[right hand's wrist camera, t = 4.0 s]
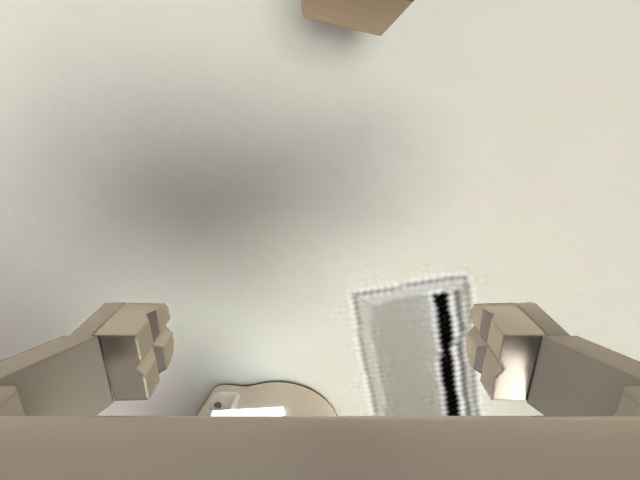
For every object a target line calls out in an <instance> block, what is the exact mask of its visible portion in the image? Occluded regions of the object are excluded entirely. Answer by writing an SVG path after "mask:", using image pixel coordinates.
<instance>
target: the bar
mask: <svg viewBox="0 0 640 480" xmlns="http://www.w3.org/2000/svg"><path fill="white" fill-rule="evenodd" d="M413 1H414V0H301V4H302V11H303V17H305V18H309V19H313V20H317V21H321V22H325V23H329V24H333V25H338V26H342V27H346V28H350V29H354V30H358V31H362V32H366V33H370V34H374V35H378V36H381V35H382V34H383V33H384V32H385V31H386V30H387V29H388V28H389V27H390V26H391V25H392V23H393V22H394V21H395V20H396V19H397V18H398V17H399V16H400V15H401V14H402V13H403V12H404V11H405V10H406V9H407V8H408V6H409V5H410V4H411V3H412V2H413Z"/></svg>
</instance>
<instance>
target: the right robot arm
mask: <svg viewBox="0 0 640 480" xmlns="http://www.w3.org/2000/svg"><path fill="white" fill-rule="evenodd" d="M169 319H170V315H169V310H168V307H167V306H166V305H165V304H163V303H126V302H123V303H105V304H103V305H102V306H101V307H100V308H99V309H98V310H97V311H96V312H95V313H94V314H93V315H92V316H90V317H89V318H88V319H87V320H86V321H85V322H84V323H83V324H82V325H81V326H80V327H79V328H77V329H76V330H75V331H74V332H73V333H72V334H71V335H70V336H62V337H59V338H57V339H54V340H52V341H50V342H47V343H45V344H42V345H40V346H37V347H35V348H32V349H30V350H28V351H25V352H23V353H20V354H18V355H15V356H13V357H11V358H8V359H6V360H3V361H1V362H0V480H640V362H639V361H637V360H634V359H632V358H629V357H627V356H624V355H622V354H620V353H617V352H615V351H612V350H610V349H607V348H605V347H603V346H600V345H598V344H595V343H593V342H590V341H588V340H586V339H583V338H581V337H578V336H570V335H569V334H568V333H567V332H566V331H565V330H564V329H563V328H562V327H560V326H559V325H558V324H557V323H556V322H555V321H554V320H553V319H552V318H551V317H550V316H549V315H547V314H546V313H545V312H544V311H543V310H542V309H541V308H540V307H539V306H538V305H537V304H535V303H531V302H527V303H486V304H474V305H473V307H472V310H471V315H470V319H471V321H472V322H473V324H474V325H475V326H474V327H473V328H472V329H471V330H470V331H469V332H468V334H467V343H466V346H467V355H468V358H469V361H470V363H471V365H472V367H473V369H475V370H476V371H478V372H480V373H481V380H480V381H481V383H482V384H483V386H484V388H485V389H486V391H487V393H488V395H489V396H490V398H491V400H518V401H527V403H529V404H530V405H531V406H533V407H534V408H535V409H536V410H538V411H539V412H540V413H542V414H543V415H544V416H337V415H336V413H335V411H334V409H333V408H332V406H331V405H330V404H329V403H328V402H327V401H326V400H325V399H324V398H323V397H321V396H320V395H319V394H317V393H316V392H314V391H312V390H310V389H308V388H305V387H303V386H300V385H296V384H291V383H284V382H269V383H262V384H257V385H252V386H245V387H243V386H235V385H219V386H217V387H215V388H214V389H213V391H212V393H211V394H210V396H209V397H208V399H207V401H206V402H205V404H204V405H203V407H202V409H201V410H200V412H199V413H198V415H197V416H96V415H97V414H98V413H100V412H101V411H102V410H104V409H105V408H106V407H108V406H109V405H110V404H112V403H113V401H121V400H149V398H150V396H151V395H152V393H153V391H154V389H155V388H156V386H157V384H158V383H159V381H160V380H159V373H160V372H162V371H164V370H165V369H167V367H168V365H169V363H170V361H171V358H172V354H173V334H172V332H171V331H170V330H169V329H168V328H167V327H166V326H165V325H166V324H167V322H168V321H169ZM218 403H220V404H218Z"/></svg>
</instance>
